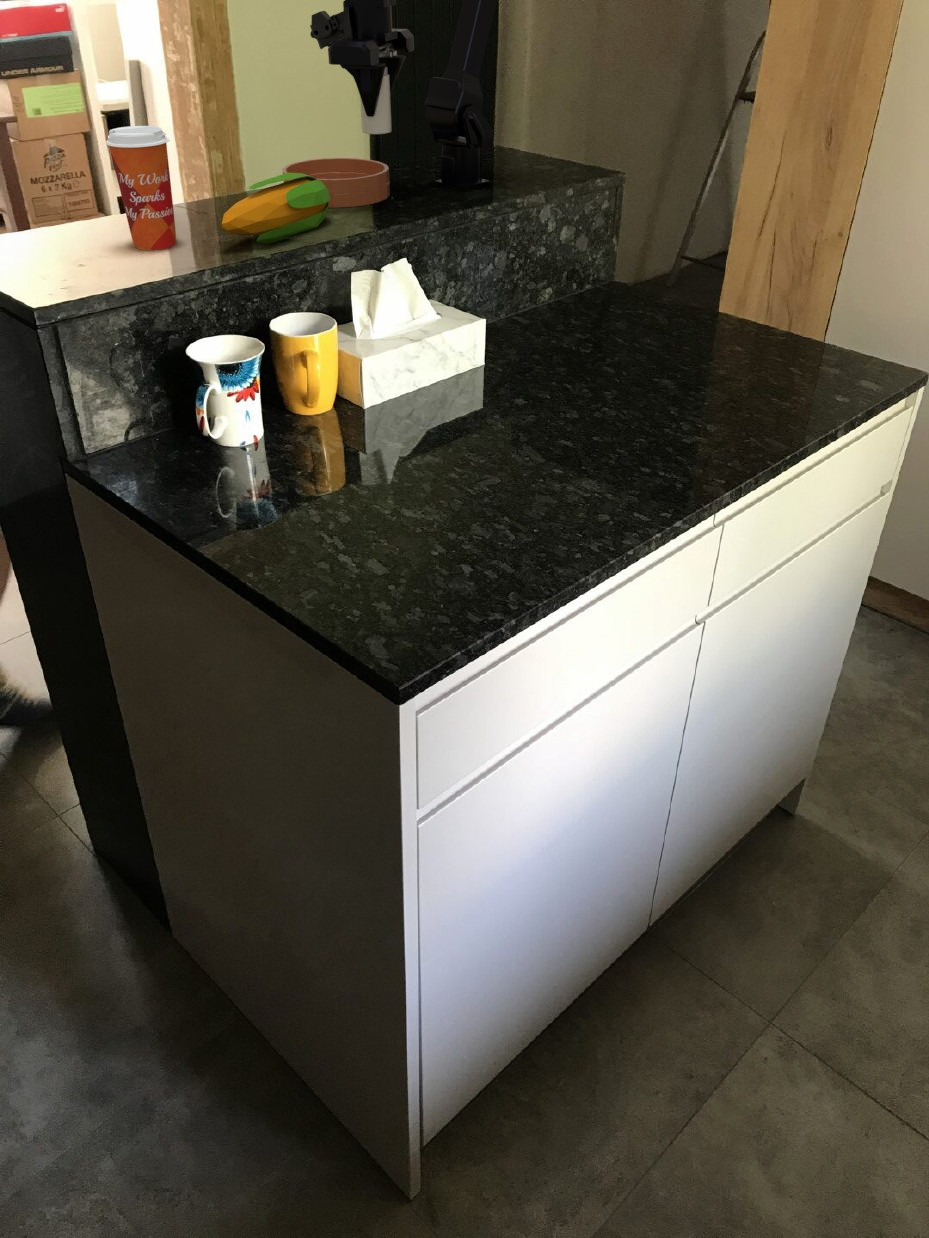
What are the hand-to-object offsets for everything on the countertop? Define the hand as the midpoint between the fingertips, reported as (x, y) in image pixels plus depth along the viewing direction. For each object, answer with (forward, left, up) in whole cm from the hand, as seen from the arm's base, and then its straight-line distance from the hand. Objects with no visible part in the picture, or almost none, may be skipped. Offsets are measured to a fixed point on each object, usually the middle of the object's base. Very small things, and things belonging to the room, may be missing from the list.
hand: (376, 113), depth 147 cm
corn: (+23, +5, -13) cm, 27 cm away
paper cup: (+37, -4, -13) cm, 40 cm away
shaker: (0, 0, -2) cm, 2 cm away
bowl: (+3, -6, -12) cm, 14 cm away
